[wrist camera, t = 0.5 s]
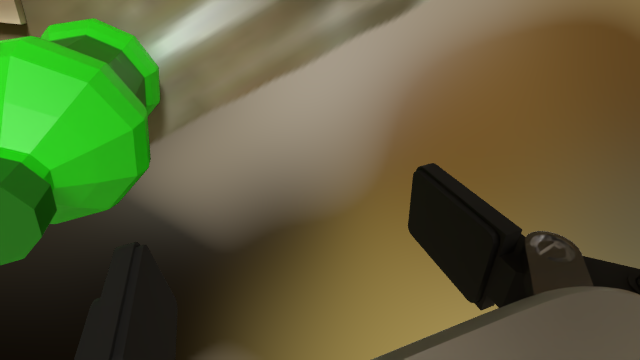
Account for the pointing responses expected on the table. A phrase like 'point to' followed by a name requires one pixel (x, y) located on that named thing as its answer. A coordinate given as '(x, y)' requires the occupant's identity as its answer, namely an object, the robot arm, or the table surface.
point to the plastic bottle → (70, 126)
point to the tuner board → (12, 12)
